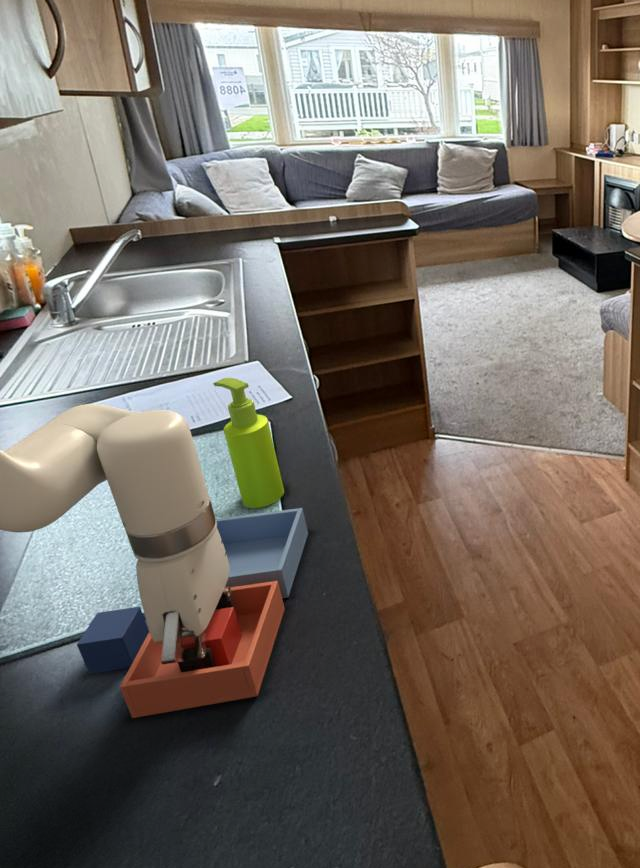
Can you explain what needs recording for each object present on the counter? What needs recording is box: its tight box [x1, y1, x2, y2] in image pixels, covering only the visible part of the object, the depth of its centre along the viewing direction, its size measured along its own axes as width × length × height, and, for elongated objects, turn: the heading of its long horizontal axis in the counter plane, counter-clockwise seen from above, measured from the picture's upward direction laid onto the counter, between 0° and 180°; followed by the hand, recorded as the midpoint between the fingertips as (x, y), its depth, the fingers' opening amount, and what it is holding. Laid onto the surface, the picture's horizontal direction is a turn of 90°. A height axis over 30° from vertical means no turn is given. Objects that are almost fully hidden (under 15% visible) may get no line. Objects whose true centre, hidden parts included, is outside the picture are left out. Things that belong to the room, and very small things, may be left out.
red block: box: [182, 607, 242, 667], centre depth 73 cm, size 4×4×4 cm
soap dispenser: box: [212, 377, 285, 509], centre depth 98 cm, size 6×7×20 cm
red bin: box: [119, 581, 286, 719], centre depth 73 cm, size 12×12×5 cm
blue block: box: [76, 606, 149, 675], centre depth 74 cm, size 4×4×4 cm
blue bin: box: [216, 507, 309, 599], centre depth 86 cm, size 12×12×5 cm
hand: (213, 651), depth 74 cm, fingers open, 6 cm apart
